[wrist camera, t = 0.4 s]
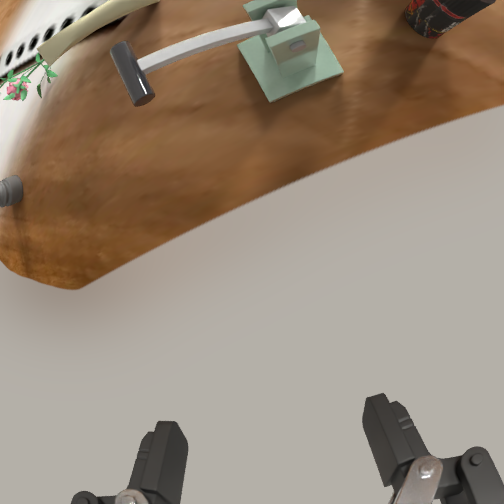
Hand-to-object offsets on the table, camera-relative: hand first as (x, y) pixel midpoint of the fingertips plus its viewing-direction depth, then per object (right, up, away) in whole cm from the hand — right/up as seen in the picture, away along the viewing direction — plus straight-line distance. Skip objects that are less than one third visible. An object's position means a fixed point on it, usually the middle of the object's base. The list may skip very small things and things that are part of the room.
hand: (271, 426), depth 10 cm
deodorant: (+22, +38, +12) cm, 46 cm away
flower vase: (-30, +41, +21) cm, 55 cm away
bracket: (+4, +31, +18) cm, 36 cm away
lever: (-4, +24, +8) cm, 25 cm away
